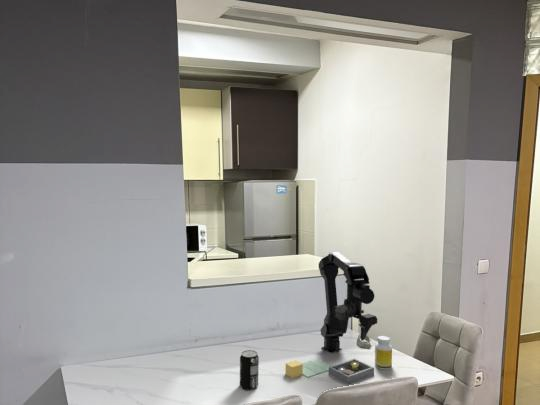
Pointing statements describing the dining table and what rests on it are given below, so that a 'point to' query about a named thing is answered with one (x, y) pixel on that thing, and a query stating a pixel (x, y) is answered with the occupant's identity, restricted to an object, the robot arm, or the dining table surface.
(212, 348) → the dining table surface
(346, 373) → the walnut block
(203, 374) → the dining table surface
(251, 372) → the beverage can
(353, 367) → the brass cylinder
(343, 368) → the chrome dome knob
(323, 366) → the grooved mint slab
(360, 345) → the wristwatch
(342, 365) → the tub
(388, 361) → the pill bottle
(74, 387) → the dining table surface
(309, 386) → the dining table surface
